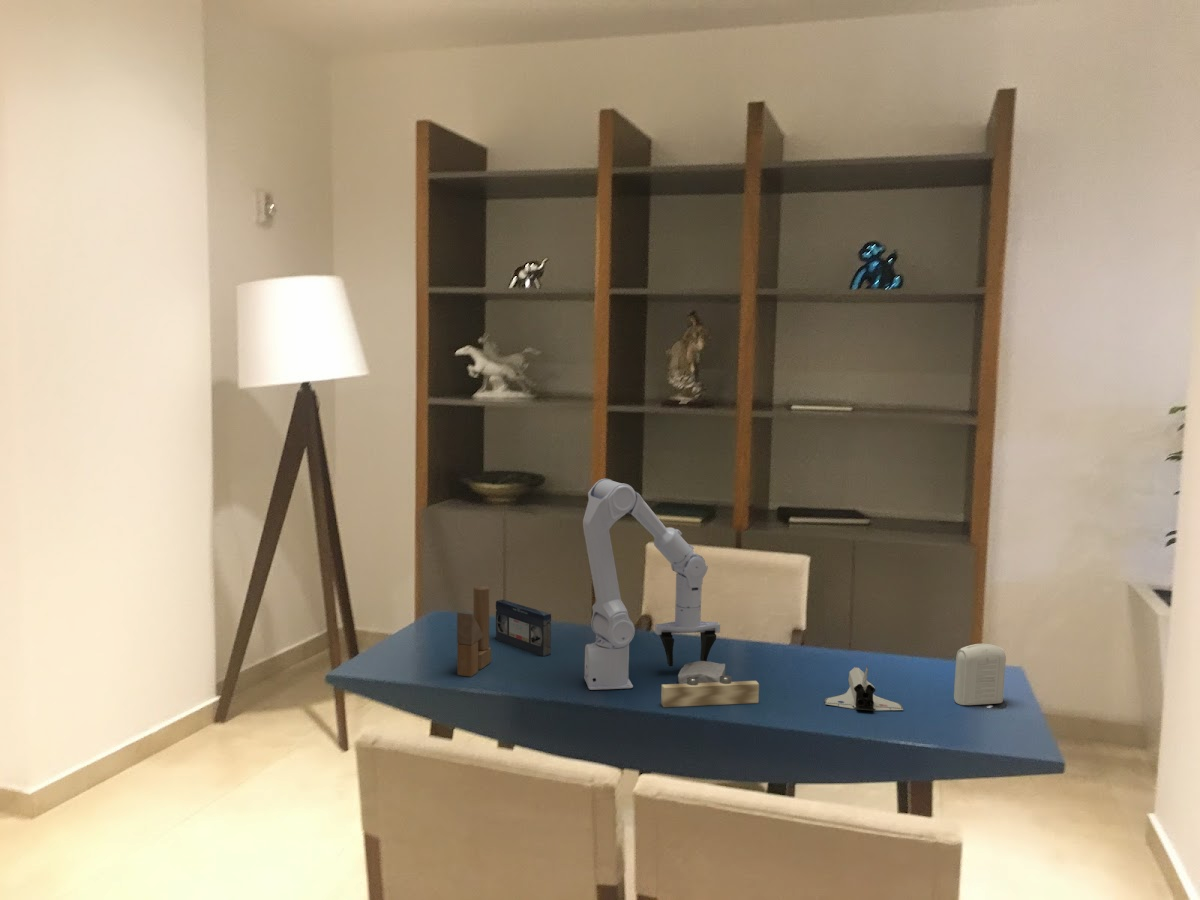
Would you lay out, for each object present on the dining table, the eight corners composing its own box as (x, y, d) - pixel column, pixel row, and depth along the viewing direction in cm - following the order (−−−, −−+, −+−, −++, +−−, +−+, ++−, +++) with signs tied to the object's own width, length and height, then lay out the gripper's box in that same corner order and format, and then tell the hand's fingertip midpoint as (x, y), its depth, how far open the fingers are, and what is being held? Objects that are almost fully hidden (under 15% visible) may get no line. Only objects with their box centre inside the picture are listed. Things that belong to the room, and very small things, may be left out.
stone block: (678, 699, 201) (724, 694, 199) (674, 677, 201) (720, 671, 199) (684, 682, 213) (728, 677, 211) (680, 661, 212) (724, 656, 210)
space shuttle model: (889, 678, 212) (891, 635, 211) (905, 720, 188) (908, 671, 187) (819, 673, 215) (820, 630, 214) (826, 714, 190) (827, 665, 189)
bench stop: (663, 707, 191) (663, 683, 190) (659, 701, 194) (660, 677, 193) (758, 702, 194) (759, 679, 194) (753, 697, 197) (754, 674, 197)
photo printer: (993, 697, 200) (996, 640, 199) (1006, 704, 196) (1009, 646, 194) (950, 700, 197) (953, 642, 196) (962, 707, 193) (965, 648, 192)
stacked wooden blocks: (456, 675, 208) (456, 595, 206) (477, 660, 218) (477, 584, 216) (471, 677, 207) (472, 596, 205) (491, 662, 217) (492, 585, 215)
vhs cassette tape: (495, 639, 235) (495, 600, 234) (504, 637, 237) (504, 598, 236) (541, 657, 221) (542, 616, 220) (551, 655, 223) (552, 614, 222)
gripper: (714, 599, 216) (712, 657, 217) (652, 601, 213) (651, 659, 215) (723, 607, 209) (721, 667, 210) (659, 609, 206) (658, 669, 208)
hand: (686, 664), depth 212 cm, fingers open, 7 cm apart
